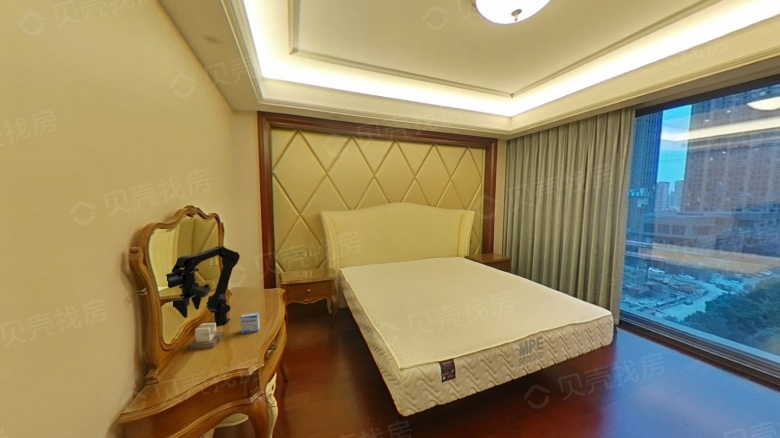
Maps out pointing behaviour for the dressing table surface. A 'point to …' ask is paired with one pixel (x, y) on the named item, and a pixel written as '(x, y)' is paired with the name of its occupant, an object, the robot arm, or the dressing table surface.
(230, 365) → the dressing table surface
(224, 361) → the dressing table surface
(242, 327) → the medicine box
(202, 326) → the maple cube
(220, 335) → the walnut block
